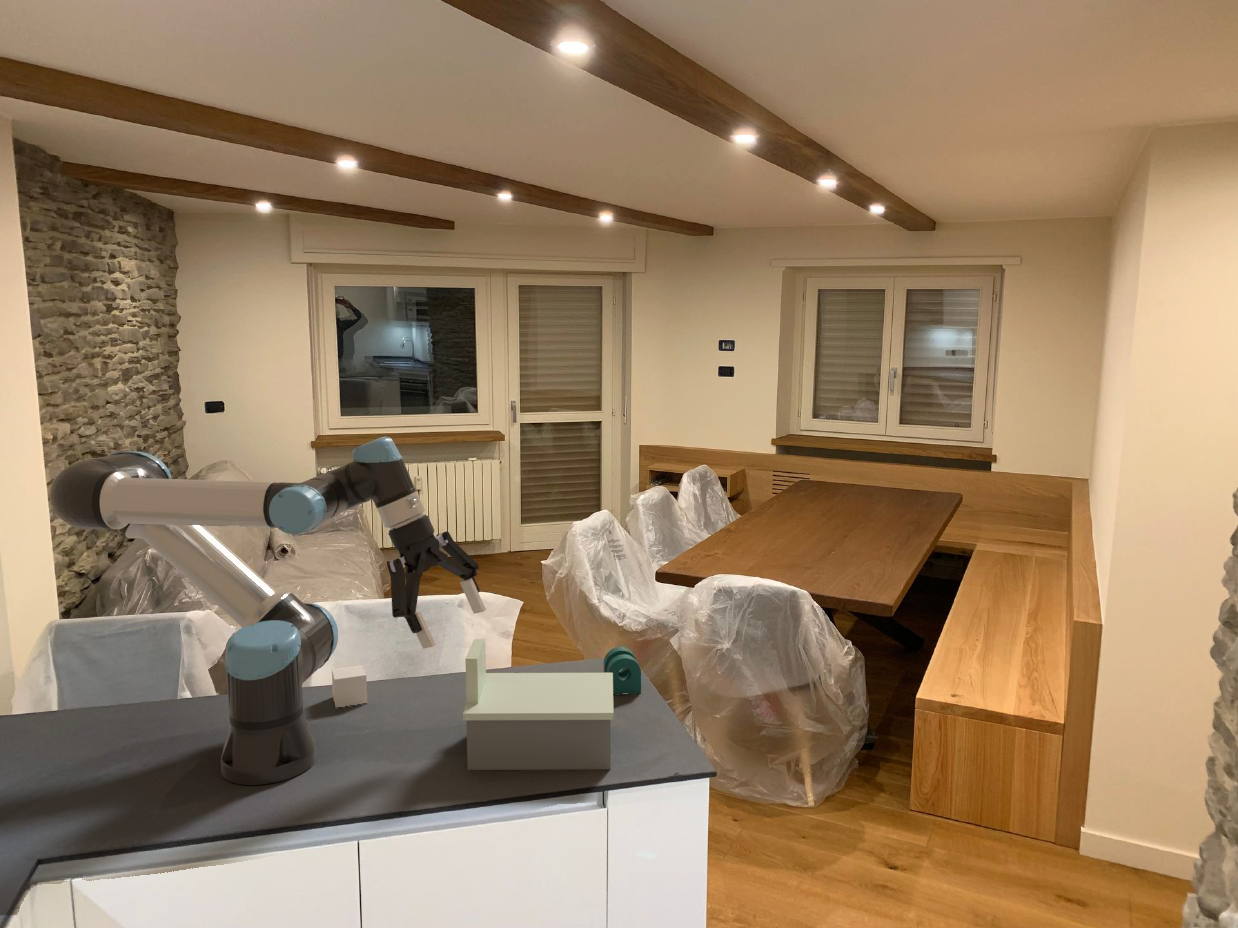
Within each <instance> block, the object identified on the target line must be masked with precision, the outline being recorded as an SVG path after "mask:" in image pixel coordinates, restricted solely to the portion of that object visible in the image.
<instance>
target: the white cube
mask: <svg viewBox="0 0 1238 928" xmlns="http://www.w3.org/2000/svg"><path fill="white" fill-rule="evenodd" d="M331 683H332V684H331V685H332V687H331V688H332V699H333V702H335V703H334V706H335V708H336V707H342V708H346V707H345V706H348V707H350V706H349V705H355V706H358V705H357V704H361V705H363V704H362V703H367V704H368V689H367V688H368V685H367V684H368V682H367V674H366V671H365V668H364V666H363V664H359V665H354V666H353V665H352V666H347V667H346V666H345V667H337V668H331Z"/></svg>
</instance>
